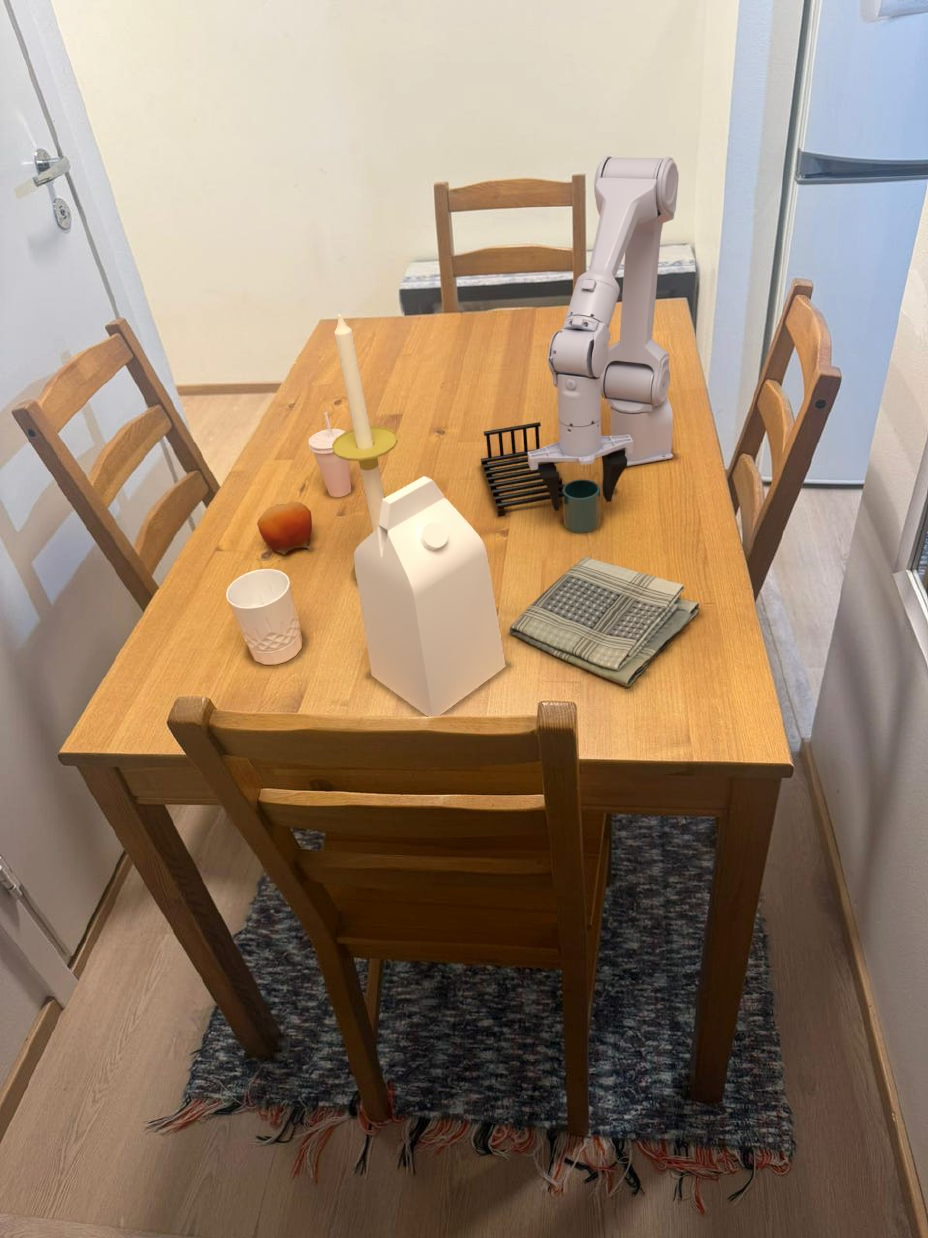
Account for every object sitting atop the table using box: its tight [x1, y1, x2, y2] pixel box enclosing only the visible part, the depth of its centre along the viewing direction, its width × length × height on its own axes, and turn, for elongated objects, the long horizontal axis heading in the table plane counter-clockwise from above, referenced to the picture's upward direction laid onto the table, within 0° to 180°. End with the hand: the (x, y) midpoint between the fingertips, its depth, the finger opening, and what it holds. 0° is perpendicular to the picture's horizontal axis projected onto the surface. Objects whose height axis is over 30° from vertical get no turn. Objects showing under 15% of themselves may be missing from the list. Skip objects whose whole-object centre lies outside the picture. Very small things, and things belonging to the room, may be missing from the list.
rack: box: [480, 421, 566, 517], centre depth 137 cm, size 11×15×7 cm
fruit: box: [256, 500, 313, 556], centre depth 131 cm, size 8×8×8 cm
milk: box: [353, 475, 507, 717], centre depth 100 cm, size 12×12×26 cm
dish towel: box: [509, 556, 700, 688], centre depth 110 cm, size 19×18×3 cm
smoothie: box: [307, 411, 352, 498], centre depth 139 cm, size 6×6×14 cm
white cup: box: [225, 568, 303, 666], centre depth 111 cm, size 8×8×10 cm
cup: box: [562, 478, 601, 534], centre depth 127 cm, size 5×5×6 cm
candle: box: [332, 309, 398, 581], centre depth 113 cm, size 10×10×38 cm
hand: (581, 502), depth 127 cm, fingers open, 7 cm apart
